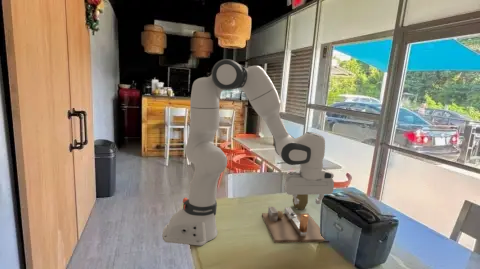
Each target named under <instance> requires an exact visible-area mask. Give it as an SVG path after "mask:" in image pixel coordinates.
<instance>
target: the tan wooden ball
mask: <svg viewBox="0 0 480 269" xmlns="http://www.w3.org/2000/svg"><path fill="white" fill-rule="evenodd" d="M277 212H278V219H281V218H282V217H283V213H284V212H283V211H281V210H277Z"/></svg>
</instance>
